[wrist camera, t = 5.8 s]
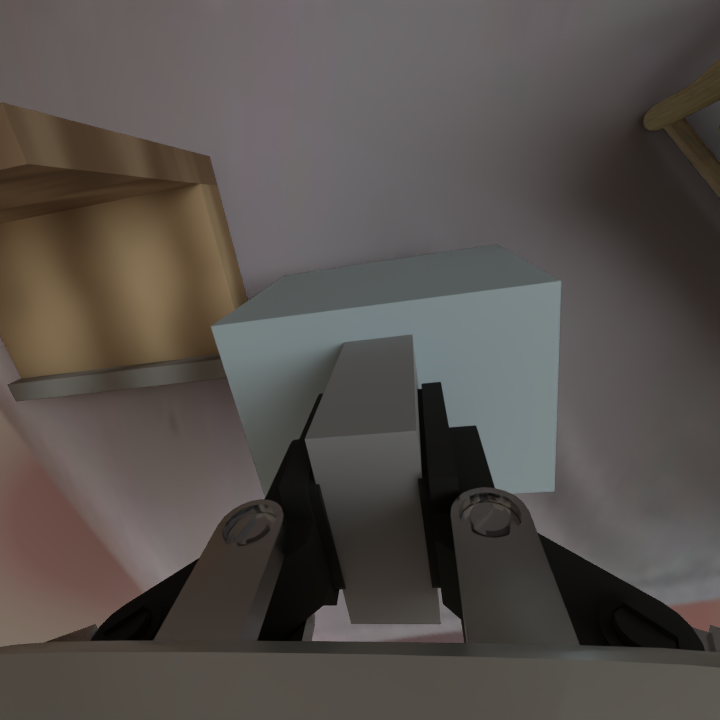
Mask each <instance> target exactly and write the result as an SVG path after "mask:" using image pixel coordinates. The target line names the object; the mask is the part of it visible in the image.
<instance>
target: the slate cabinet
mask: <svg viewBox="0 0 720 720" xmlns="http://www.w3.org/2000/svg"><path fill="white" fill-rule="evenodd" d="M560 302H561V280H559V279H557V278H555V277H554V276H552V275H550V274H548V273H547V272H545V271H543V270H541V269H540V268H538V267H536V266H534V265H533V264H531V263H529V262H527V261H526V260H524V259H522V258H520V257H519V256H517V255H515V254H513V253H511V252H510V251H508V250H506V249H504V248H503V247H501V246H499V245H497V244H495V245H488V246H481V247H474V248H468V249H461V250H454V251H447V252H440V253H434V254H427V255H420V256H413V257H407V258H400V259H393V260H386V261H380V262H373V263H366V264H359V265H353V266H346V267H339V268H332V269H325V270H319V271H312V272H305V273H298V274H292V275H285V276H284V277H282V278H281V279H279V280H278V281H276V282H275V283H274V284H272V285H271V286H269V287H268V288H266V289H265V290H263V291H262V292H260V293H259V294H257V295H256V296H254V297H253V298H251V299H250V300H249V301H247V302H246V303H244V304H243V305H241V306H240V307H238V308H237V309H235V310H234V311H232V312H231V313H229V314H228V315H227V316H225V317H224V318H222V319H221V320H219V321H218V322H216V323H215V324H213V325H212V326H211V329H212V332H213V335H214V338H215V341H216V345H217V348H218V351H219V354H220V357H221V360H222V363H223V366H224V370H225V373H226V376H227V379H228V382H229V385H230V388H231V392H232V395H233V398H234V401H235V404H236V407H237V410H238V414H239V417H240V420H241V423H242V426H243V429H244V432H245V436H246V439H247V442H248V445H249V448H250V451H251V454H252V457H253V461H254V464H255V467H256V470H257V473H258V476H259V479H260V483H261V486H262V489H263V492H264V495H265V497H266V495H267V493H268V491H269V489H270V486H271V484H272V482H273V480H274V478H275V476H276V473H277V471H278V469H279V467H280V465H281V463H282V460H283V458H284V456H285V454H286V452H287V450H288V447H289V445H290V443H291V442H292V441H293V440H296V439H299V438H300V436H301V434H302V431H303V429H304V427H305V425H306V422H307V420H308V418H309V415H310V413H311V411H312V408H313V406H314V404H315V402H316V399H317V397H318V395H319V394H321V393H324V394H323V396H322V398H321V401H320V403H319V406H318V408H317V411H316V413H315V415H314V418H313V420H312V423H311V425H310V427H309V430H308V432H307V435H306V437H305V442H306V446H307V450H308V454H309V458H310V462H311V466H312V470H313V474H314V478H315V482H316V484H319V485H320V489H321V492H322V496H323V500H324V504H325V508H326V512H327V516H328V520H329V524H330V528H331V532H332V536H333V540H334V544H335V548H336V552H337V556H338V560H339V564H340V567H341V571H342V575H343V579H344V583H345V587H346V589H343V593H344V597H345V601H346V605H347V608H348V612H349V616H350V620H351V624H441V623H440V610H439V597H438V588H432V583H431V576H430V569H429V561H428V554H427V547H426V539H425V532H424V524H423V517H422V510H421V502H420V495H419V487H418V478H422V466H421V448H420V429H419V411H418V393H417V389H422V387H421V384H423V383H433V382H441V385H442V391H443V396H444V402H445V408H446V413H447V419H448V424H449V427H460V426H473V425H476V427H477V430H478V433H479V436H480V440H481V443H482V446H483V450H484V453H485V456H486V460H487V463H488V466H489V470H490V473H491V476H492V480H493V483H494V486H495V488H496V489H500V490H504V491H507V492H509V493H511V494H512V493H533V492H554V489H555V458H556V427H557V396H558V365H559V333H560Z"/></svg>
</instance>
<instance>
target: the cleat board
mask: <svg viewBox="0 0 720 720" xmlns="http://www.w3.org/2000/svg"><path fill="white" fill-rule="evenodd" d="M247 301H248V300H247V297H246V293H245V289H244V285H243V282H242V278H241V274H240V270H239V266H238V263H237V259H236V255H235V251H234V247H233V244H232V240H231V236H230V232H229V228H228V225H227V221H226V217H225V213H224V210H223V206H222V202H221V198H220V194H219V191H218V187H217V183H216V179H215V175H214V172H213V168H212V164H211V160H210V157H209V156H206V155H202V154H198V153H194V152H190V151H186V150H182V149H179V148H175V147H171V146H167V145H163V144H159V143H155V142H152V141H148V140H144V139H140V138H136V137H132V136H128V135H125V134H121V133H117V132H113V131H109V130H105V129H101V128H98V127H94V126H90V125H86V124H82V123H78V122H75V121H71V120H67V119H63V118H59V117H55V116H51V115H48V114H44V113H40V112H36V111H32V110H28V109H24V108H21V107H17V106H13V105H9V104H5V103H0V336H1V338H2V340H3V342H4V344H5V346H6V348H7V350H8V352H9V354H10V356H11V358H12V360H13V362H14V364H15V366H16V368H17V370H18V372H19V374H20V376H21V378H22V379H19V380H17V381H15V382H13V383H10V384H8V387H9V389H10V391H11V393H12V395H13V397H14V398H15V400H16V401H24V400H33V399H42V398H51V397H60V396H69V395H78V394H87V393H96V392H105V391H114V390H123V389H132V388H141V387H150V386H159V385H168V384H177V383H186V382H195V381H204V380H213V379H222V378H227V376H226V373H225V370H224V366H223V363H222V360H221V357H220V354H219V351H218V348H217V345H216V341H215V338H214V335H213V332H212V329H211V326H212V325H213V324H215V323H216V322H218V321H219V320H221V319H222V318H224V317H225V316H227V315H228V314H229V313H231V312H232V311H234V310H235V309H237V308H238V307H240V306H241V305H243V304H244V303H246V302H247Z"/></svg>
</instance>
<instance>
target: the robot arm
mask: <svg viewBox="0 0 720 720" xmlns="http://www.w3.org/2000/svg"><path fill="white" fill-rule="evenodd" d="M421 387H422V389H417V393H418V411H419V429H420V448H421V466H422V478H418V487H419V495H420V502H421V510H422V517H423V524H424V532H425V539H426V547H427V554H428V561H429V569H430V576H431V583H432V588H441V592H442V601H443V604H444V605H445V606H446V607H447V608H448V609H450V610H451V611H452V612H453V613H454V614H455V615H457V616H458V617H459V618H460V619H461V624H462V632H463V639H464V643H422V642H421V643H419V642H331V641H312V636H313V631H314V626H315V615H314V613H315V612H316V611H317V610H318V609H320V608H321V607H322V606H323V605H337V600H338V594H339V589H346V587H345V583H344V579H343V575H342V571H341V567H340V564H339V560H338V556H337V552H336V548H335V544H334V540H333V536H332V532H331V528H330V524H329V520H328V516H327V512H326V508H325V504H324V500H323V496H322V492H321V489H320V485H319V484H316V482H315V478H314V474H313V470H312V466H311V462H310V458H309V454H308V450H307V446H306V442H305V437H306V435H307V432H308V430H309V427H310V425H311V423H312V420H313V418H314V415H315V413H316V411H317V408H318V406H319V403H320V401H321V398H322V396H323V394H324V393H321V394H319V395H318V397H317V399H316V402H315V404H314V406H313V408H312V411H311V413H310V415H309V418H308V420H307V422H306V425H305V427H304V429H303V431H302V434H301V436H300V438H299V439H296V440H293V441H292V442H291V443H290V445H289V447H288V450H287V452H286V454H285V456H284V458H283V460H282V463H281V465H280V467H279V469H278V471H277V473H276V476H275V478H274V480H273V482H272V484H271V486H270V489H269V491H268V493H267V495H266V497H265V499H260V500H254V501H250V502H247V503H245V504H242V505H240V506H238V507H237V508H235V509H233V510H232V511H231V512H229V513H228V514H227V515H226V516H225V517H224V518H223V519H222V521H221V522H220V523H219V525H218V526H217V528H216V530H215V531H214V533H213V535H212V537H211V539H210V540H209V542H208V544H207V546H206V547H205V549H204V551H203V553H202V555H201V556H200V558H199V559H197V560H195V561H194V562H192V563H191V564H189V565H187V566H186V567H184V568H183V569H181V570H180V571H178V572H176V573H175V574H173V575H172V576H170V577H168V578H167V579H165V580H164V581H162V582H160V583H159V584H157V585H156V586H154V587H153V588H151V589H149V590H148V591H146V592H145V593H143V594H141V595H140V596H138V597H137V598H135V599H133V600H132V601H130V602H129V603H127V604H126V605H124V606H123V607H121V608H120V609H119V610H117V611H116V612H115V613H113V614H112V615H111V616H110V617H109V618H108V619H107V620H106V621H105V622H104V623H103V624H102V625H101V626H100V627H99V629H98V628H97V626H96V624H94V625H91V626H89V627H86V628H83V629H80V630H77V631H75V632H72V633H69V634H66V635H63V636H61V637H58V638H55V639H52V640H49V641H47V642H44V643H31V644H18V645H10V646H3V647H0V720H720V628H719V627H715V626H712V625H710V628H709V631H708V632H706V631H702V630H699V629H696V628H693V627H691V626H690V625H689V624H688V623H687V622H686V621H685V620H684V619H683V618H682V617H681V616H680V615H679V614H678V613H677V612H675V611H674V610H672V609H671V608H669V607H668V606H666V605H665V604H664V603H662V602H661V601H659V600H657V599H655V598H653V597H652V596H650V595H648V594H646V593H644V592H643V591H641V590H639V589H637V588H635V587H634V586H632V585H630V584H628V583H626V582H625V581H623V580H621V579H619V578H618V577H616V576H614V575H612V574H610V573H609V572H607V571H605V570H603V569H601V568H600V567H598V566H596V565H594V564H592V563H591V562H589V561H587V560H585V559H583V558H582V557H580V556H578V555H576V554H575V553H573V552H571V551H569V550H567V549H566V548H564V547H562V546H560V545H558V544H557V543H555V542H553V541H551V540H549V539H548V538H546V537H544V536H542V535H540V534H539V533H537V531H536V528H535V525H534V523H533V520H532V518H531V515H530V512H529V510H528V509H527V507H526V506H525V504H524V503H523V502H522V501H521V500H520V499H519V498H517V497H516V496H515V495H513V494H511V493H509V492H507V491H504V490H500V489H496V488H495V486H494V483H493V480H492V476H491V473H490V470H489V466H488V463H487V460H486V456H485V453H484V450H483V446H482V443H481V440H480V436H479V433H478V430H477V427H476V425H473V426H460V427H449V424H448V419H447V413H446V408H445V402H444V396H443V391H442V385H441V382H433V383H423V384H421Z"/></svg>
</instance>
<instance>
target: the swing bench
mask: <svg viewBox="0 0 720 720" xmlns="http://www.w3.org/2000/svg"><path fill="white" fill-rule="evenodd" d="M718 100H720V59H719V60H718V61H717V62H715V63H714V64H713V65H712V66H711V67H710V68H709V69H708V70H707V71H706V72H705V73H704V74H703V75H701V76H700V77H699V78H698V79H697V80H696V81H695V82H694V83H693V84H691V85H689V86H688V87H686V88H684V89H682V90H681V91H679V92H677V93H676V94H674V95H672V96H670V97H669V98H667V99H665V100H663V101H662V102H660V103H658V104H656V105H655V106H653V107H651V108H650V109H649V110H648V111H647V112H646V114H645V116H644V118H643V124H644V127H645V128H646V129H648V130H650V131H655V130H659V129H662V128H663V129H664V130H665V131H666V132H667V133H668V135H669V136H670V137H671V138H672V140H673V141H674V142H675V143H676V145H677V146H678V147H679V148H680V150H681V151H682V152H683V153H684V155H685V156H686V157H687V158H688V160H689V161H690V162H691V163H692V165H693V166H694V167H695V168H696V169H697V171H698V172H699V173H700V174H701V176H702V177H703V178H704V179H705V181H706V182H707V183H708V184H709V186H710V187H711V188H712V189H713V191H714V192H715V193H716V194H717V196H718V197H719V198H720V163H719V162H718V160H717V159H716V158H715V157H714V155H713V154H712V153H711V152H710V150H709V149H708V148H707V147H706V145H705V144H704V143H703V141H702V140H701V139H700V138H699V136H698V135H697V134H696V133H695V131H694V130H693V129H692V128H691V126H690V125H689V124H688V122H687V121H686V120H685V119H684V117H686V116H688V115H690V114H692V113H694V112H696V111H698V110H700V109H702V108H704V107H706V106H708V105H710V104H712V103H714V102H716V101H718ZM718 132H719V133H720V125H719V128H718Z"/></svg>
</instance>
